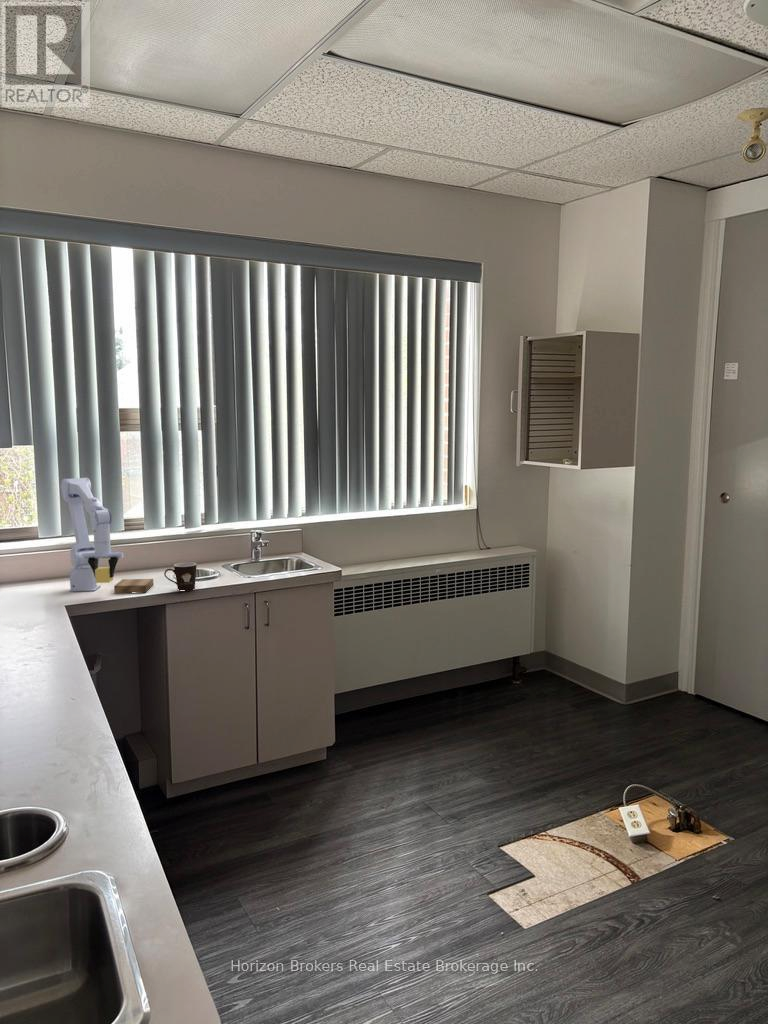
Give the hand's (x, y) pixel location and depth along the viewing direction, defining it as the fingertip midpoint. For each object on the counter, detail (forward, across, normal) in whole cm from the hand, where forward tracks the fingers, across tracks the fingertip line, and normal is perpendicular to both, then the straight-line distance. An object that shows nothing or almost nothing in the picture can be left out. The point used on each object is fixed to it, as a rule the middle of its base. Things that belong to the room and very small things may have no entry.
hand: (104, 577), depth 290 cm
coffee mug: (+8, +27, +9) cm, 29 cm away
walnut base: (+8, +8, +11) cm, 15 cm away
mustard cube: (+2, 0, 0) cm, 2 cm away
